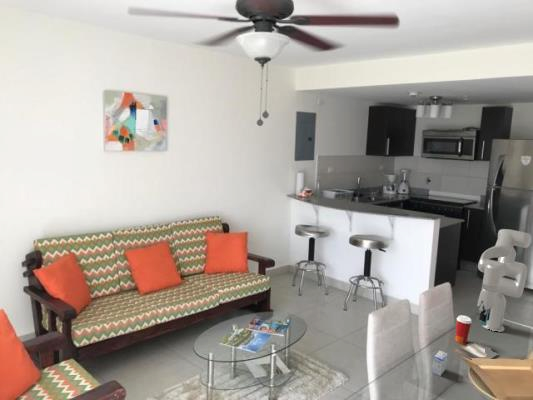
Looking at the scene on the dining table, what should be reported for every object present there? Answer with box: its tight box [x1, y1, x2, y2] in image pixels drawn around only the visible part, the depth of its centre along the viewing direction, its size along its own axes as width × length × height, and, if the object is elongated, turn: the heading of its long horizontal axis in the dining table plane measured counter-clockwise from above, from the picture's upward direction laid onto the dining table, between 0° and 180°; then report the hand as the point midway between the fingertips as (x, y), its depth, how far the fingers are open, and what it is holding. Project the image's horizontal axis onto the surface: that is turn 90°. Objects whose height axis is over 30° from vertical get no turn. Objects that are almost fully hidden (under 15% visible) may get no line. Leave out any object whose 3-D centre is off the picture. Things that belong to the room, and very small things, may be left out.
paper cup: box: [454, 315, 473, 345], centre depth 240 cm, size 8×8×14 cm
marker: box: [479, 307, 489, 326], centre depth 231 cm, size 3×3×12 cm
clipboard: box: [454, 341, 492, 359], centre depth 229 cm, size 18×14×2 cm
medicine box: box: [430, 350, 449, 377], centre depth 209 cm, size 8×4×9 cm, turn 141°
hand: (484, 319), depth 231 cm, fingers closed on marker, 2 cm apart
